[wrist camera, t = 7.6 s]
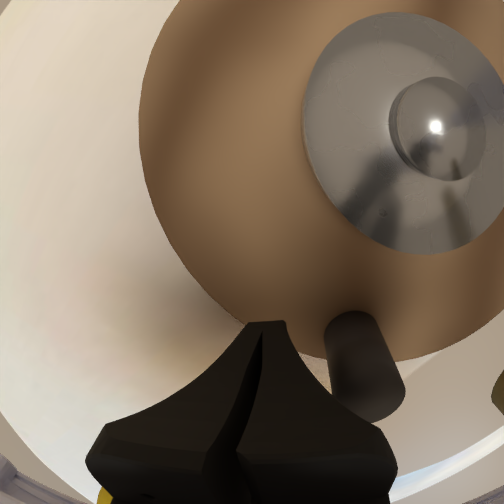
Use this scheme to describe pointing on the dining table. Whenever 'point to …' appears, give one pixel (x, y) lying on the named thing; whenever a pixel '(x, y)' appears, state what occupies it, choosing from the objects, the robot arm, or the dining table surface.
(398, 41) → the cover
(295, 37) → the turntable
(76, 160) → the dining table surface
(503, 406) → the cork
